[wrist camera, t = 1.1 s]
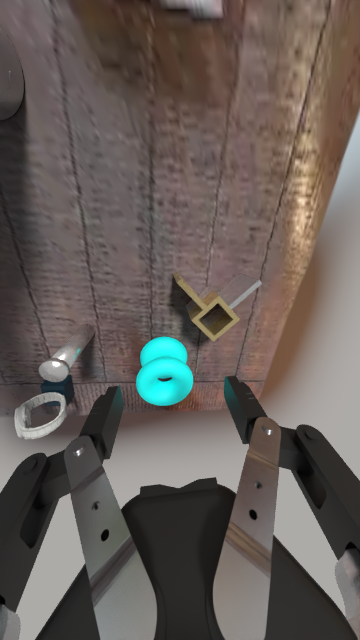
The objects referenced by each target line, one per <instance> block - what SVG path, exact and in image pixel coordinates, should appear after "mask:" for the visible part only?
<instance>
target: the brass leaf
mask: <svg viewBox="0 0 360 640" xmlns="http://www.w3.org/2000/svg"><path fill="white" fill-rule="evenodd" d="M173 276H174V278H175V280H176V282H177V283H178V285H179V286H180V287H181V288H182V289H183V290H184V291H185V292H186V293H187V294H188V295H189V296H190V297H191V298H192V299H193V300H194V301H195V302H196V303H197V305H196V306H195V307H193V308H192V309H191V310H190V311H189V312H188V314H189V316H190V318H191V321H192V322H193V323H195V324H196V325H197V326H198V327H199V328H200V329H201V330H202V331H203V332H204V333H205V334H206V335H207V336H208V337H209V338H210V339H211V340H212V341H213V342H214V341H215V340H216V339H217V338H218V337H220V336H221V335H222V334H223V333H224V332H226V331H227V330H228V329H229V328H230V327H232V326H233V325H234V324H235V323H236V322H238V321H239V320H240V319H239V318H238V317H237V316H236V314H235V313H234V312H233V311H232V310H231V309H230V308H229V306H228V305H227V304H226V303H225V302H224V301H223V299H222V298H221V297H220V296H219V295H218V294H217V293H215V292H214V291H213V290H212V291H211V292H210V293H209V294H208V295H207V296H206V297H204V298H203V299H202V300H201V298H200V297H199V296H198V294H197V293H196V292H195V291H194V290H193V289H192V288H191V287H190V286H189V285H188V284H187V283H186V282H185V281H184V279H183V278H182V277H181V276H180V275H179V274H178V273H177V272H176V273H175V274H174V275H173ZM217 303H218V304H219V305H220V306H221V307H222V308H223V309H224V310H225V313H224V314H223V315H222V316H221V317H220V318H218V319H217V320H216V321H215V322H214V323H213V324H211V325H210V326H209V327H208V326H207V325H206V324H205V323H204V322H203V321H202V320H201V319H200V318H201V317H203V316H204V315H205V314H206V313H207V312H208V311H209V310H210V309H212V308H213V307H214V306H215V305H216V304H217Z"/></svg>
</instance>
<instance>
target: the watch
mask: <svg viewBox="0 0 360 640" xmlns="http://www.w3.org/2000/svg"><path fill="white" fill-rule="evenodd" d="M40 387H41V390H42V394H41V395H42V396H41V395H38V396H35V397H36V398H35V397H33V398H31V399H30V400H28V401H27V402H24V403H23V404H22V405H21V406H20V407H18V408H16V410H15V415H14V420H15V428H16V432H17V434H18V436H19V437H22V436H23V437H24V438H25V439H36V438H40V437H43V436H45V435H47V434H49V433H50V432H52V431H54V430H55V429H56V428H58V427H59V426H60V425H61V423H62V422H63V421H64V419H65V417H66V416H67V406H68V405H69V403H70V401H71V400H72V398H73V396H74V388H73V383H72V377H71V375H67V377H66V378H65V379H64V380H63V381H60V382H51V381H48V380H45V381H44V382H43V384H42V385H41V386H40ZM38 399H39V400H38ZM32 402H33V403H32ZM43 402H44V403H45V405H46V406H61V408H60V409H61V410H60V413H59V415H58V416H57V417H56V418H55V419H54V420H53V421H51V422H49V423H48V424H45V425H43V426H42V427H41V426H40V427H37V428H35V429H34V428H31V426H32V425H31V415H30V414H31V413H30V411H31V410H32V409H34V408H35V407H37V406H38V405H41V404H43ZM37 404H38V405H37ZM44 429H45V430H44Z"/></svg>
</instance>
